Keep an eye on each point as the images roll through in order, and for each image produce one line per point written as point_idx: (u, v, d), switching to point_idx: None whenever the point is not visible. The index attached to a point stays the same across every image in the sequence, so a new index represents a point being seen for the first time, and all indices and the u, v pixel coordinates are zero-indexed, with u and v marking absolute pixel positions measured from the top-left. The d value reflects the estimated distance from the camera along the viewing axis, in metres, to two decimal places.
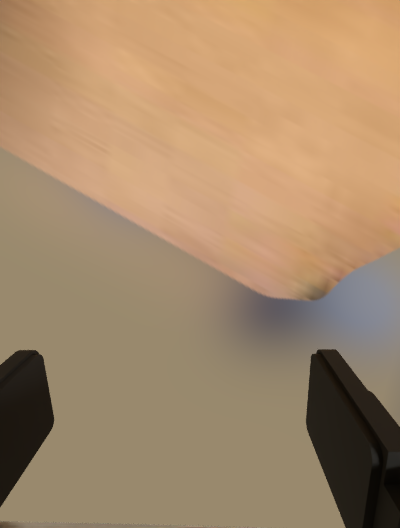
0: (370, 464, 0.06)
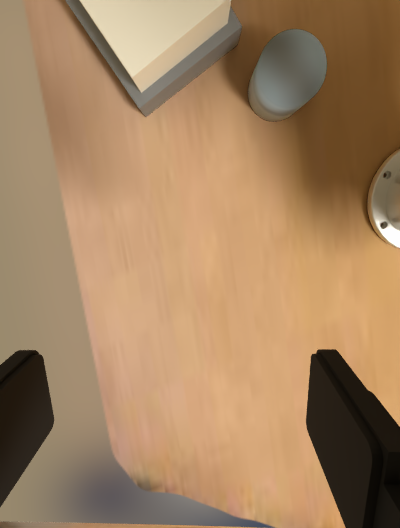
0: (370, 464, 0.06)
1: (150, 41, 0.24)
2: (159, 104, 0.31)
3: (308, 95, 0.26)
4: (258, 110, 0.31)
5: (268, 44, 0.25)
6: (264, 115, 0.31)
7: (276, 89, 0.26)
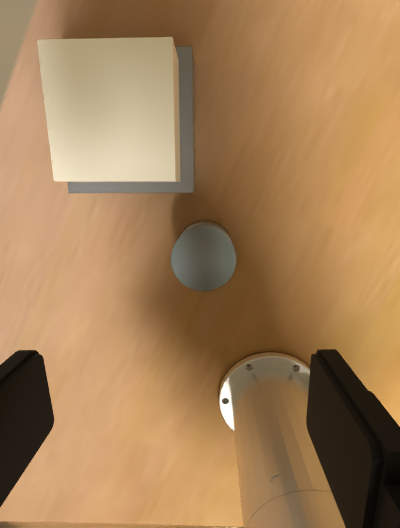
0: (370, 464, 0.06)
1: (86, 165, 0.24)
2: None
3: (204, 287, 0.28)
4: None
5: (195, 230, 0.26)
6: None
7: (182, 266, 0.27)
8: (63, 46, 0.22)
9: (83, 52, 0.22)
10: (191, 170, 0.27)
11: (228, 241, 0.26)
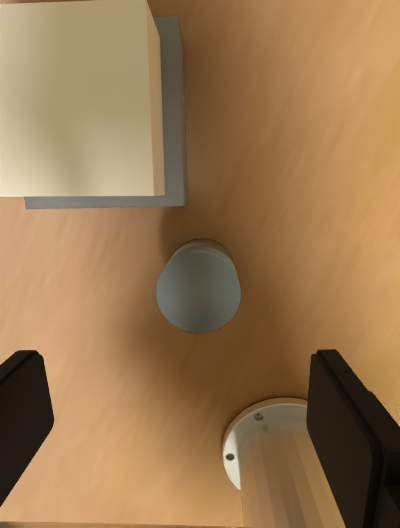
0: (370, 464, 0.06)
1: (35, 175, 0.18)
2: None
3: (200, 328, 0.21)
4: None
5: (186, 255, 0.20)
6: None
7: (171, 302, 0.21)
8: None
9: (25, 22, 0.16)
10: (180, 177, 0.21)
11: (230, 269, 0.20)
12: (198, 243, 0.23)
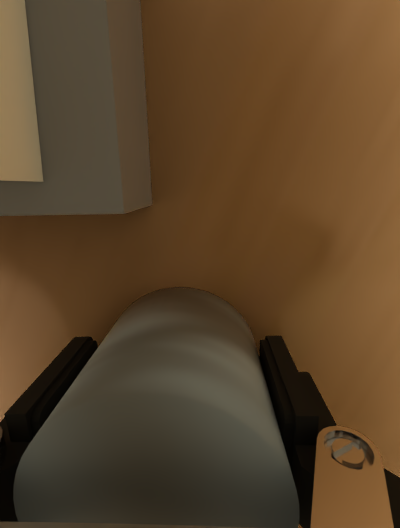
0: (286, 428, 0.07)
1: None
2: None
3: None
4: None
5: (107, 403, 0.06)
6: None
7: None
8: None
9: None
10: (109, 123, 0.07)
11: (265, 449, 0.06)
12: (168, 312, 0.09)
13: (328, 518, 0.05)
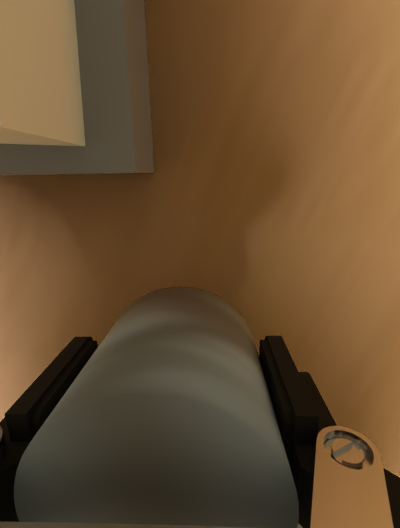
0: (285, 428, 0.07)
1: None
2: None
3: None
4: None
5: (107, 402, 0.06)
6: None
7: None
8: None
9: None
10: (125, 103, 0.09)
11: (264, 448, 0.06)
12: (167, 312, 0.09)
13: (328, 518, 0.05)
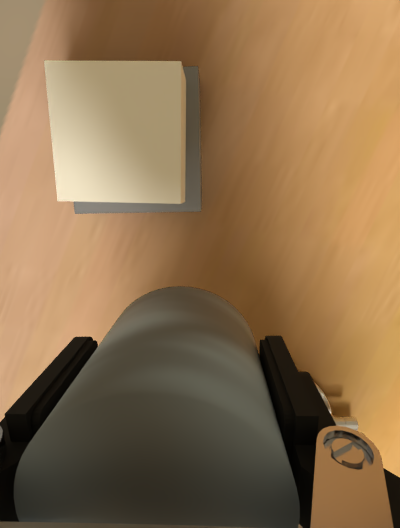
0: (285, 428, 0.07)
1: (91, 186, 0.23)
2: None
3: None
4: None
5: (107, 401, 0.06)
6: None
7: None
8: (70, 67, 0.21)
9: (90, 74, 0.21)
10: (198, 189, 0.27)
11: (265, 448, 0.06)
12: (168, 311, 0.09)
13: (328, 518, 0.05)
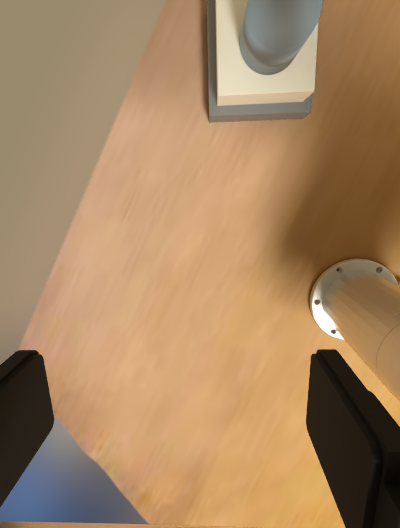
0: (370, 464, 0.06)
1: (245, 81, 0.31)
2: (224, 120, 0.38)
3: (284, 42, 0.24)
4: (241, 43, 0.28)
5: None
6: (244, 51, 0.28)
7: (260, 15, 0.24)
8: None
9: None
10: None
11: None
12: None
13: None
